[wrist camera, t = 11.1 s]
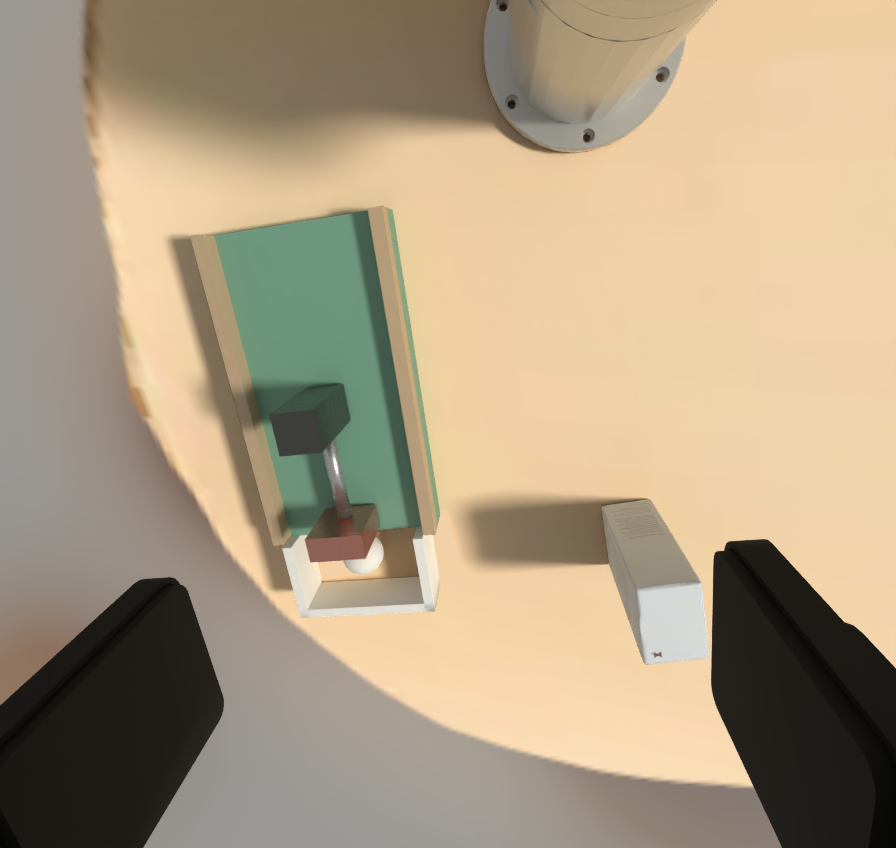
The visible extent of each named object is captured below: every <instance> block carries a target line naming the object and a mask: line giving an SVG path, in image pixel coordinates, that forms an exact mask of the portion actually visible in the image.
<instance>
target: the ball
mask: <svg viewBox="0 0 896 848" xmlns="http://www.w3.org/2000/svg"><path fill="white" fill-rule="evenodd" d="M383 553H384V552H383V546H382V544H381V542H380V540H379V539H378V538H377V537H375V539H374V541H373V543H372V546H371V548H370V550H369V553H368V555H367V557H366V559H356V560H343V562H344V564H345V566H346V567H347V568H348V569H349V570H350V571H351V572H353V573H356V574H361V575H363V574H368V573H371V572H373V571H374V570H376V569H377V568H378V567H379V565H380V564H381V562H382V559H383Z"/></svg>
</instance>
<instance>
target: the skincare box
mask: <svg viewBox="0 0 896 848" xmlns="http://www.w3.org/2000/svg"><path fill="white" fill-rule="evenodd" d="M601 510H602V517H603V524H604V531H605V538H606V545H607V552H608V559H609V566H610V569H611V571H612V574H613V577H614V580H615V583H616V586H617V589H618V591H619V594H620V597H621V600H622V602H623V605H624V608H625V611H626V614H627V617H628V620H629V622H630V625H631V628H632V631H633V634H634V637H635V640H636V643H637V646H638V648H639V651H640V654H641V657H642V659H643V662H644V663H645V664H646V665H648V664H657V663H667V662H677V661H687V660H697V659H704V658H708V657H709V654H708V641H707V629H706V621H705V613H704V603H703V593H702V582H701V581H700V579H699V577H698V576H697V574H696V573H695V571H694V569H693V568H692V566H691V564H690V563H689V561H688V560H687V558H686V556H685V555H684V553H683V551H682V550H681V548H680V546H679V545H678V543H677V541H676V540H675V538H674V536H673V535H672V533H671V532H670V530H669V528H668V527H667V525H666V524H665V522H664V520H663V519H662V517H661V515H660V514H659V512H658V510H657V509H656V507H655V506H654V504H653V503H652V501H651V500H650V499H645V500H639V501H632V502H626V503H619V504H611V505H604V506H602V507H601Z"/></svg>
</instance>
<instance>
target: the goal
mask: <svg viewBox="0 0 896 848" xmlns="http://www.w3.org/2000/svg"><path fill="white" fill-rule="evenodd" d="M306 537H307V535H301V536H291V537H290V539H289V540H288V541H287V543H286V544H285V545H284V547H283V548H282V550H283V553H284V557H285V561H286V565H287V569H288V572H289V576H290V580H291V584H292V587H293V591H294V595H295V599H296V603H297V606H298V610H299V614H300V618H311V617H331V616H350V615H370V614H390V613H409V612H429V611H435V607H436V602H437V597H438V591H439V586H440V579H439V573H438V567H437V561H436V555H435V549H434V543H433V537H432V535H423V531H422V527H416V530H415V533H414V537H413V544H414V550H415V555H416V561H417V567H418V572H419V577H404V578H387V579H371V580H354V581H337V582H322V580H321V576H320V571H319V567H318V563H317V562H310V559H309V555H308V551H307V547H306V543H305V538H306Z"/></svg>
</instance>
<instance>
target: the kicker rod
mask: <svg viewBox="0 0 896 848" xmlns="http://www.w3.org/2000/svg"><path fill="white" fill-rule="evenodd" d="M269 416H270V420H271V424H272V428H273V432H274V436H275V440H276V444H277V448H278V452H279V456H280V457H282V456H292V455H303V454H313V453H322V452H323V455H324V460H325V464H326V469H327V473H328V478H329V482H330V487H331V491H332V496H333V500H334V504H335V508H327V509H325V510H324V512H323V513H322V515H321V516H320V518H319V519H318V521H317V522H316V524H315V525H314V527H313V528H312V529H311V531H310V532H309V534H308V535H307V537H306V538H305V543H306V547H307V551H308V555H309V559H310V562H325V561H341V560H356V559H366V557H367V555H368V553H369V550H370V548H371V546H372V543H373V541H374V539H375V537H376V534H377V532H378V530H379V528H380V522H379V517H378V512H377V507H376V505H365V506H352V507H351V506H350V501H349V496H348V492H347V487H346V482H345V478H344V473H343V468H342V464H341V459H340V454H339V450H338V445H337V440H336V436H337V435H338V434H339V433H340V432H341V431H342V430H343V429H344V427H345V426H346V425H347V424H348V423H349V422H350V421H351V419H350V414H349V409H348V404H347V399H346V394H345V389H344V384H336V385H327V386H318V387H309V388H306V389H304V390H303V391H301V392H300V393H299V394H297V395H296V396H294V397H293V398H292V399H290V400H289V401H287V402H286V403H284V404H283V405H282V406H280V407H279V408H277V409H276V410H275V411H273V412H272V413H270V414H269Z"/></svg>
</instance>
